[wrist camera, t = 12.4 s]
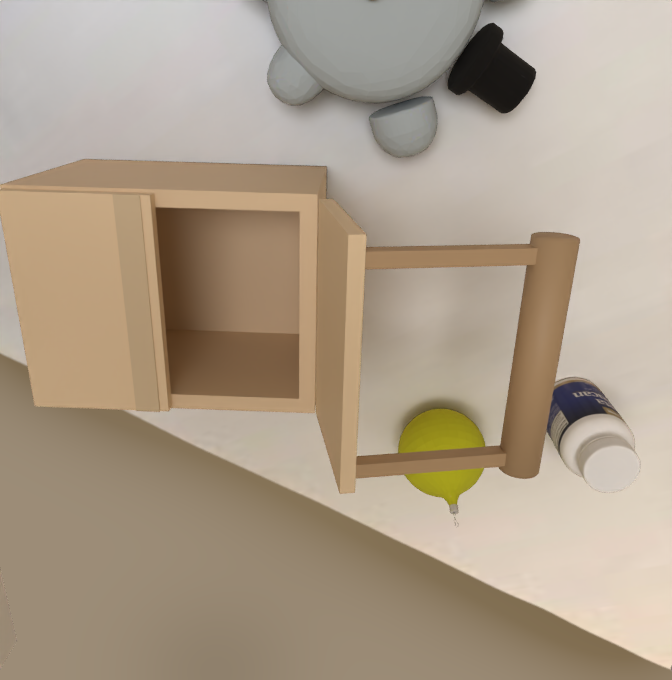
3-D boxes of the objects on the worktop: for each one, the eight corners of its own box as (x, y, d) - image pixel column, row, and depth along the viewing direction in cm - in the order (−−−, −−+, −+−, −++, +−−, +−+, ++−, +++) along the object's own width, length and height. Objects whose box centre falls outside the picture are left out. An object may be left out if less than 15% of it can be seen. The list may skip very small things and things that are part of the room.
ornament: (436, 478, 57) (451, 556, 48) (378, 432, 55) (383, 503, 46) (494, 427, 55) (523, 499, 45) (436, 378, 53) (454, 441, 44)
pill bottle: (610, 379, 52) (662, 442, 43) (592, 435, 55) (638, 506, 46) (546, 371, 52) (585, 433, 43) (530, 427, 54) (565, 497, 45)
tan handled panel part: (319, 198, 35) (506, 197, 37) (315, 412, 40) (480, 402, 42) (351, 238, 27) (591, 234, 29) (341, 501, 32) (545, 482, 34)
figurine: (193, 38, 43) (429, 190, 49) (172, 39, 35) (454, 219, 41) (326, -238, 37) (577, -30, 43) (335, -309, 30) (639, -44, 35)
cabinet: (106, 333, 52) (32, 409, 40) (84, 158, 47) (-9, 187, 35) (323, 341, 52) (313, 420, 40) (326, 166, 46) (316, 197, 35)
